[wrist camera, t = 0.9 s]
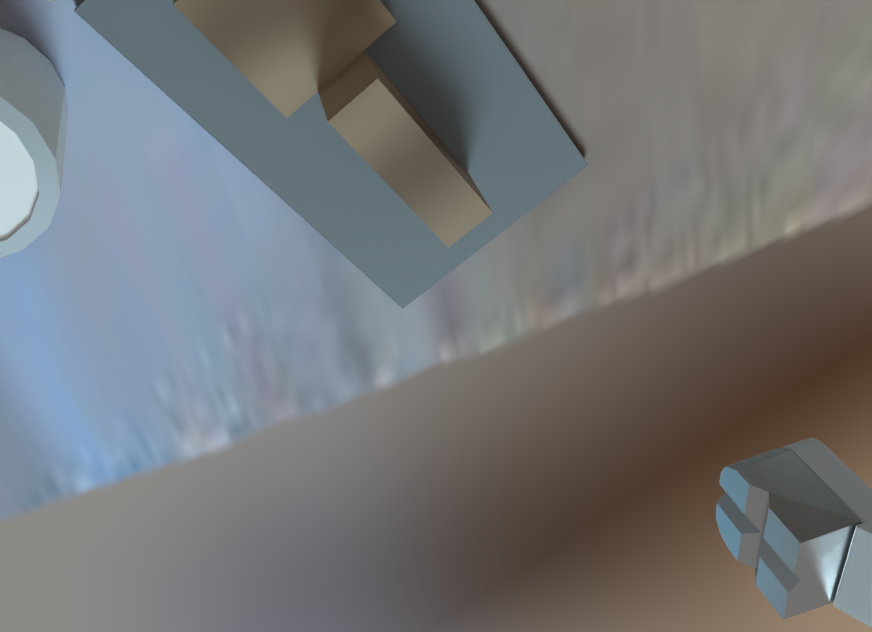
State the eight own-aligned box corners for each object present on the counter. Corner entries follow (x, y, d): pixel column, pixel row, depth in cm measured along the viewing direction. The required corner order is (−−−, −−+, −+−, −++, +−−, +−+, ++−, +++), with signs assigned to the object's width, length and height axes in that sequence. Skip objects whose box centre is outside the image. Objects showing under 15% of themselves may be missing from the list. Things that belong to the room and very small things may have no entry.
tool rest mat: (312, -232, 26) (314, -231, 26) (584, 160, 38) (588, 164, 38) (75, 7, 28) (74, 10, 28) (400, 303, 40) (402, 308, 40)
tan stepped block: (497, 148, 36) (525, 187, 33) (399, 226, 37) (417, 271, 34) (289, -115, 27) (301, -95, 24) (173, -2, 29) (170, 30, 26)
